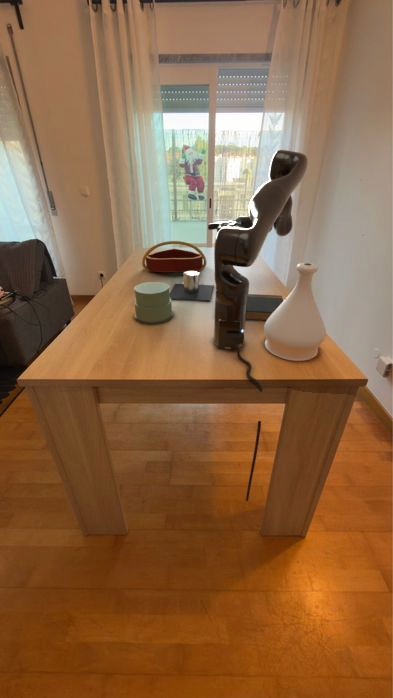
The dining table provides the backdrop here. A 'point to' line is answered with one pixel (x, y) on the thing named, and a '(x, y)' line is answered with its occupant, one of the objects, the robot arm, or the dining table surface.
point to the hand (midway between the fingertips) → (212, 228)
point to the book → (262, 306)
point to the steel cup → (191, 282)
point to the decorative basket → (174, 259)
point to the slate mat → (202, 295)
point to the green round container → (153, 303)
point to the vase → (296, 321)
